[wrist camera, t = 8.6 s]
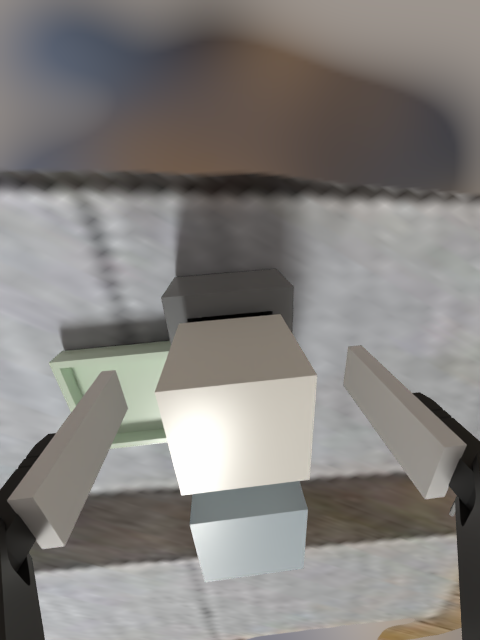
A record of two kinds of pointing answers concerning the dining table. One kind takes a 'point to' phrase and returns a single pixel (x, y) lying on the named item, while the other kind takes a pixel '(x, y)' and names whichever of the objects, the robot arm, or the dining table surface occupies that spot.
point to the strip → (227, 297)
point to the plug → (237, 403)
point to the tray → (135, 379)
